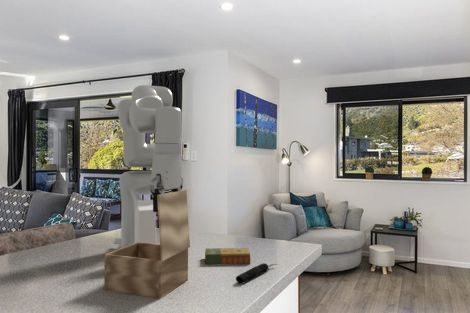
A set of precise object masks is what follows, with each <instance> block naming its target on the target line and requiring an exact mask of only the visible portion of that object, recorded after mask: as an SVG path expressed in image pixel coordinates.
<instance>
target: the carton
mask: <svg viewBox="0 0 470 313" xmlns="http://www.w3.org/2000/svg"><path fill="white" fill-rule="evenodd" d="M204 264H205V265H251V252H250V250H249V248H248V247H223V248H221V247H220V248H217V247H216V248H208V247H207V248H205V252H204Z"/></svg>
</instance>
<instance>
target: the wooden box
mask: <svg viewBox="0 0 470 313" xmlns="http://www.w3.org/2000/svg"><path fill="white" fill-rule="evenodd" d="M103 277H104V280H103V281H104V282H103V284H104V285H103V286H104V287H103V289H104V291H108V292H109V291H110V292H115V293H122V294H128V295H134V296H140V297H147V298H151V299H152V298H153V299H159V300H160V299H163V298H164V297H166V296H167V295H168V294H170V293H171V292H173V291H174V290H175V289H177V288H179V287H180V286H181V285H183V284H184V283H186V282H187V281H188V280H189V248H187V249H185V250H183V251H181V252H179V253H177V254H175V255H173V256H171V257H169V258H167V259H165V260H164V261H161V252H160V243H156V244H151V243H141V242H137V243H134V244H131V245H129V246H126V247H123V248H121V249H118V250H117V249H115V250H113V251H110V252H107V253H105V254H104V276H103Z"/></svg>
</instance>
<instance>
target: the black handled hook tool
mask: <svg viewBox="0 0 470 313" xmlns="http://www.w3.org/2000/svg"><path fill="white" fill-rule="evenodd" d="M278 265H279V264H278V263H274V262H273V263H272V262H268V263H261V264H259V265H257V266H254V267H251V268H249V269H248V270H246V271H243V272H242V273H239V275H237V276H236V277H235V281H236V282H237V283H238V284H240V285H241V284H242V285H243V284H244V283H247V282H249V281H251V280H253V279H254V278H256V277H259V276H260V275H262V274H264V273H266V272H267V271H268V269H269V268H270V267H272V266H278Z"/></svg>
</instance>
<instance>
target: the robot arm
mask: <svg viewBox="0 0 470 313" xmlns="http://www.w3.org/2000/svg"><path fill="white" fill-rule="evenodd" d="M173 98H174V97H173V93H172V91H171V90H170V89H169V88H168V87H166V86H159V85H147V84H143V85H138V86H135V88H133V89H132V92H131V98H124V99H121V100H120V101H119V102H118V105H117V115H118V120H119V124H120V126H121V129H122V134H123V135H122V136H123V137H122V139H123V141H122V142H123V146H122V149H123V150H122V153H123V155H122V156H123V157H122V158H123V163H124V165H125V166H126V167H128V168H151V170H129V171H125V172H123V173H122V174H120V177H119V181H118V182H119V190H120V197H121V210H120V211H121V214H120V216H121V219H120V220H121V224H120V226H121V229H120V233H121V234H120V238H119V237H116V238H115V239H114V241H113V244H115V245H118V247H117V248H116V250H118V249H121V248H123V247H126V246H129V245H131V244H134V243H135V208H136V206H137V201H138V200H143V199H142V197H140V196H143V195H145V196H146V195H151V197H152V200H153V212H156V213H158V201H157V195H160V194H165V192H166V191H170V193H171V192H176V191H182V189H183V185H184V178H183V177H182V176H183V174H182V159H181V156H182V123H183V122H182V112H183V111H182V110H181V109H180V108H179V107H176V106H173V101H174V100H173ZM146 134H154V143H146Z"/></svg>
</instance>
